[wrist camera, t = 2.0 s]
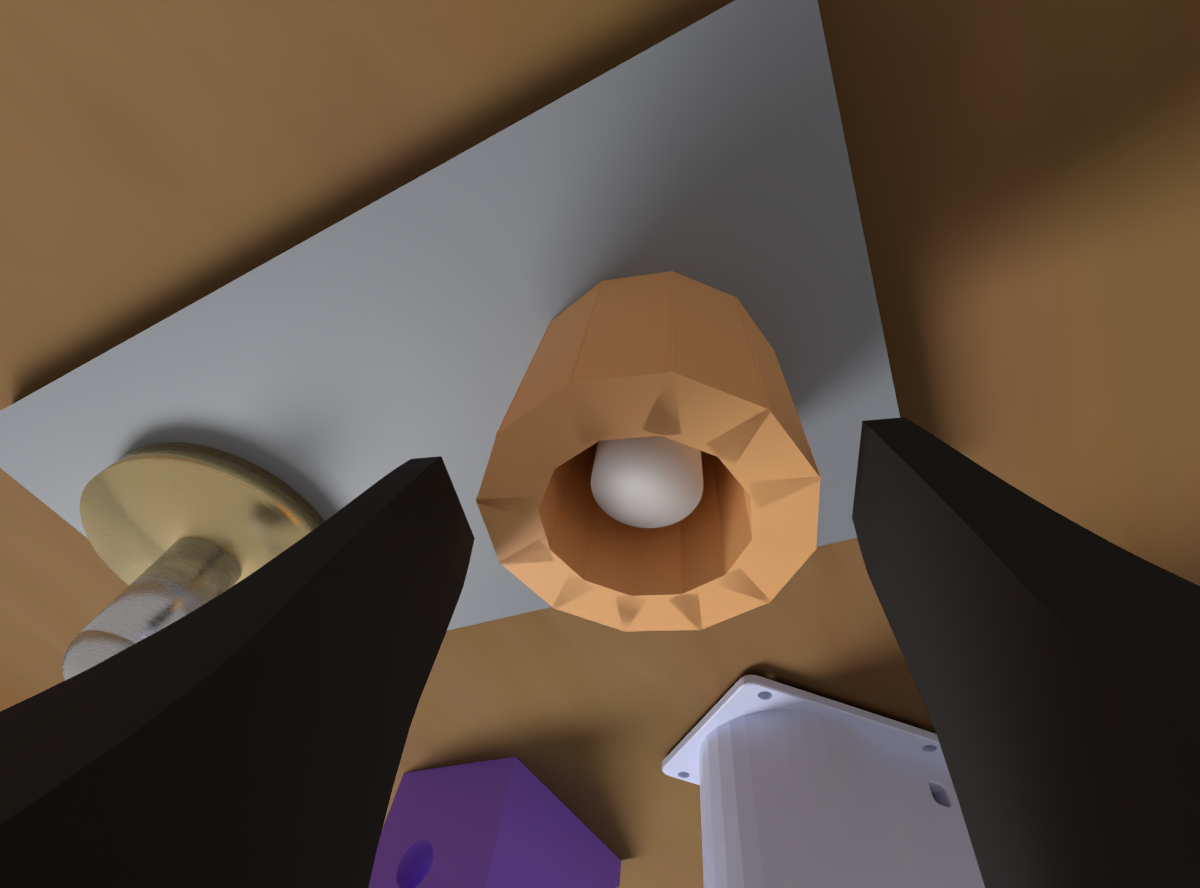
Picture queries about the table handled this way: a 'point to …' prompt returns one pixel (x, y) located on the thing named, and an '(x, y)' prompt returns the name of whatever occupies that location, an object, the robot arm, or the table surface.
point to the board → (519, 298)
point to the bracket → (487, 833)
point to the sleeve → (642, 409)
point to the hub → (179, 537)
